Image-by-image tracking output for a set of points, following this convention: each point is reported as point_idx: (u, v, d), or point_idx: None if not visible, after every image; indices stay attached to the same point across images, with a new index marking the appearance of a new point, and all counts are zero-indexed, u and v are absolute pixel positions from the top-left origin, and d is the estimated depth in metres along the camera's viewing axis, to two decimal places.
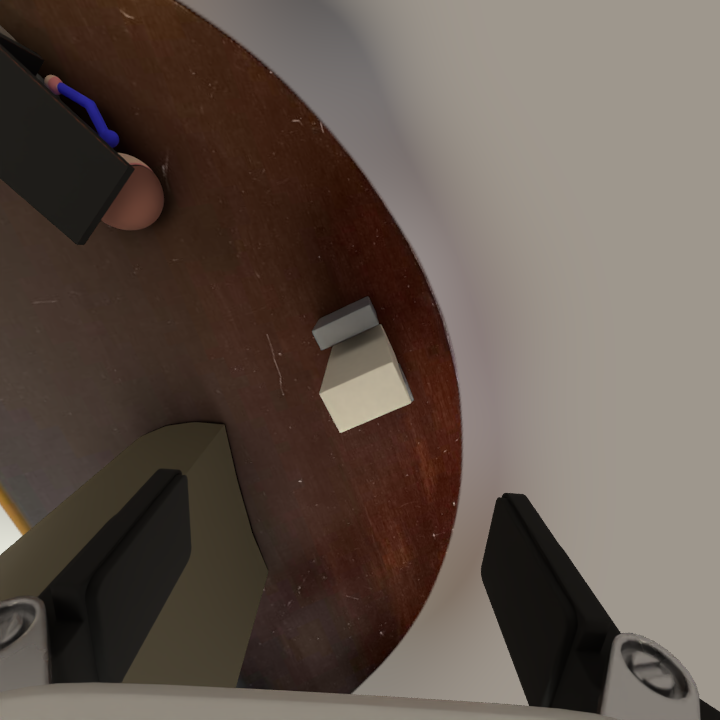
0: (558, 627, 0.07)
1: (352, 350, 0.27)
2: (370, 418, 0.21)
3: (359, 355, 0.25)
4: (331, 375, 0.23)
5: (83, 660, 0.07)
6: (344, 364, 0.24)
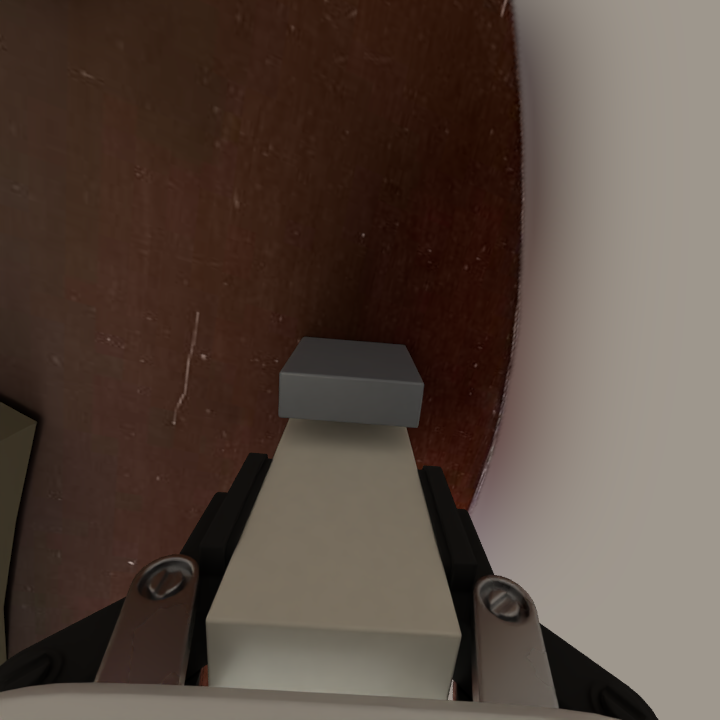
0: None
1: (338, 444, 0.13)
2: None
3: (353, 484, 0.10)
4: (271, 521, 0.09)
5: None
6: (313, 494, 0.10)
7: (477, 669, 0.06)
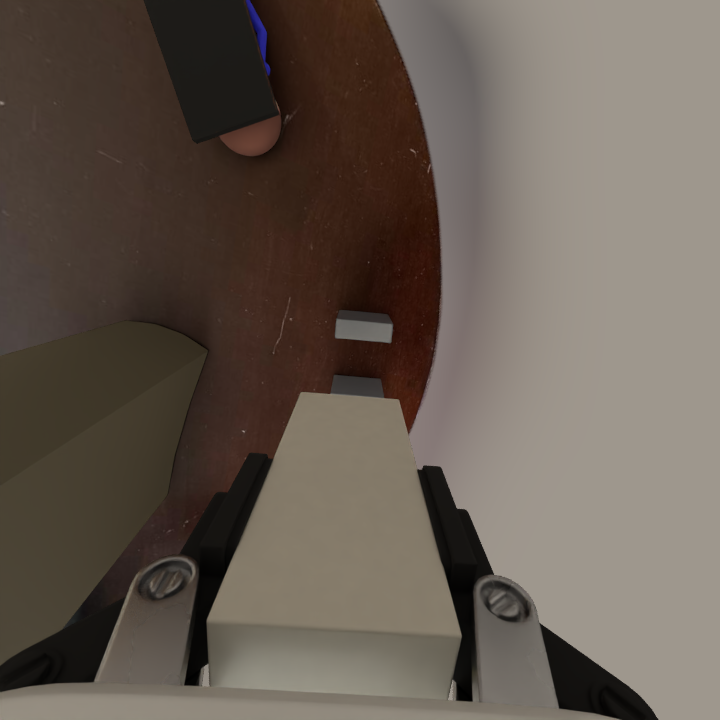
0: None
1: (338, 444, 0.13)
2: None
3: (354, 485, 0.10)
4: (272, 522, 0.09)
5: None
6: (313, 495, 0.10)
7: (477, 669, 0.06)
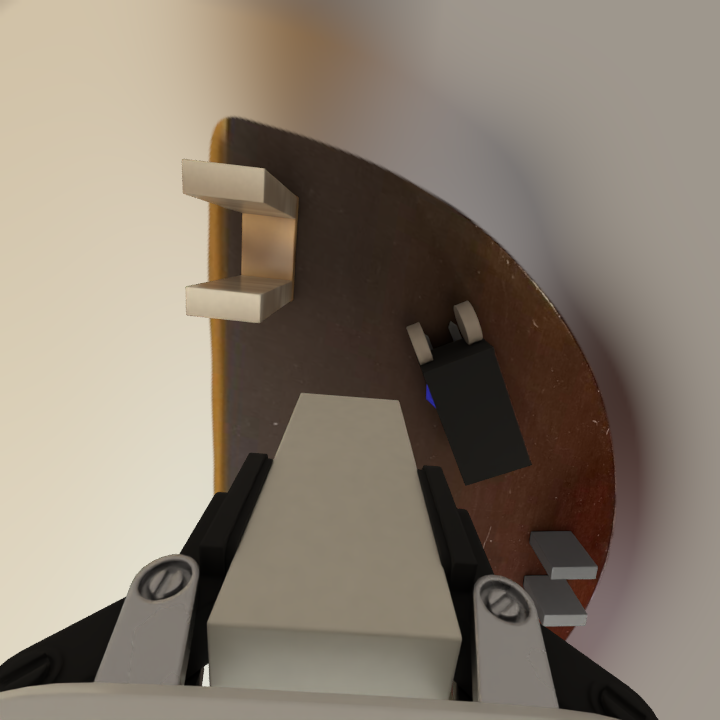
0: None
1: (338, 446, 0.13)
2: None
3: (354, 487, 0.10)
4: (271, 524, 0.09)
5: None
6: (313, 496, 0.10)
7: (477, 669, 0.06)
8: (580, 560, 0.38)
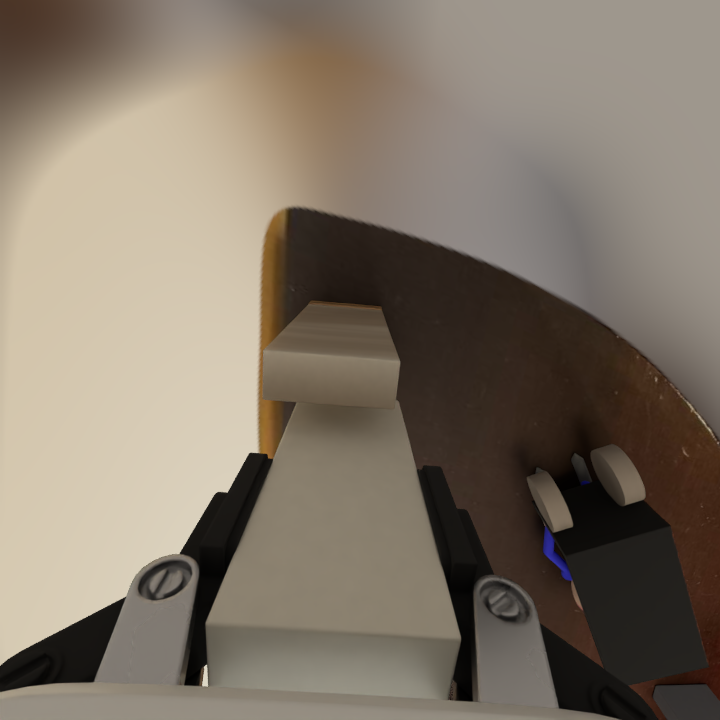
0: None
1: (337, 446, 0.13)
2: None
3: (353, 487, 0.10)
4: (271, 524, 0.09)
5: None
6: (312, 496, 0.10)
7: (477, 669, 0.06)
8: None
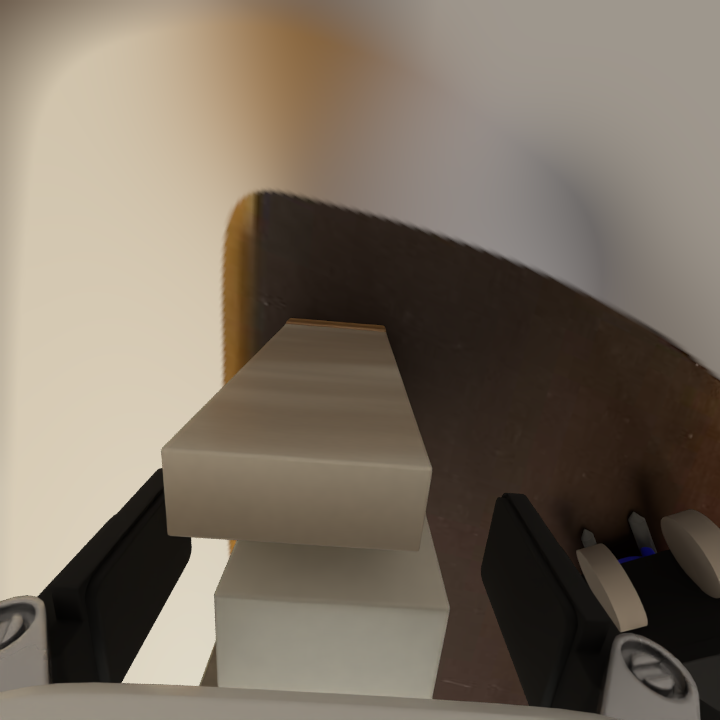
0: (558, 627, 0.07)
1: None
2: None
3: None
4: None
5: (83, 660, 0.07)
6: None
7: None
8: None
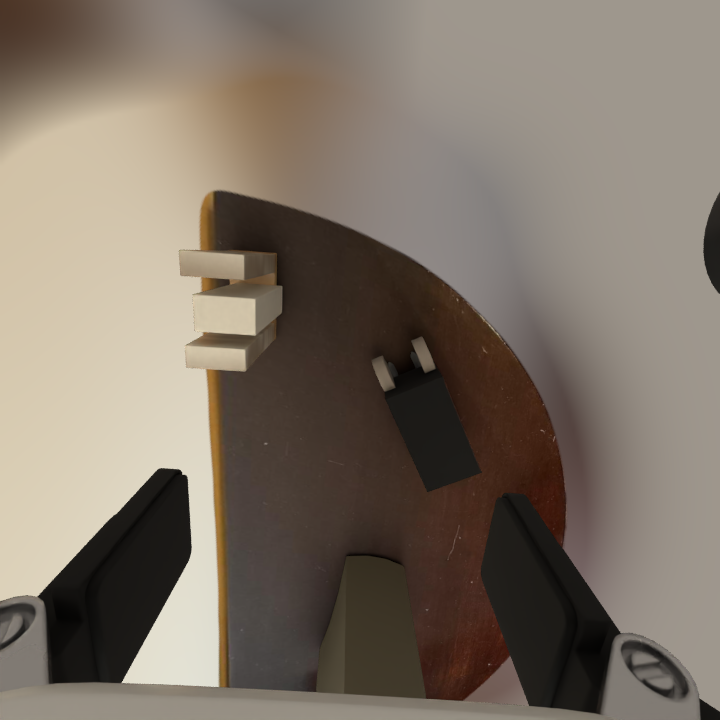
0: (558, 627, 0.07)
1: (244, 288, 0.33)
2: (221, 331, 0.28)
3: (243, 291, 0.31)
4: (212, 291, 0.29)
5: (83, 660, 0.07)
6: (228, 290, 0.30)
7: None
8: None
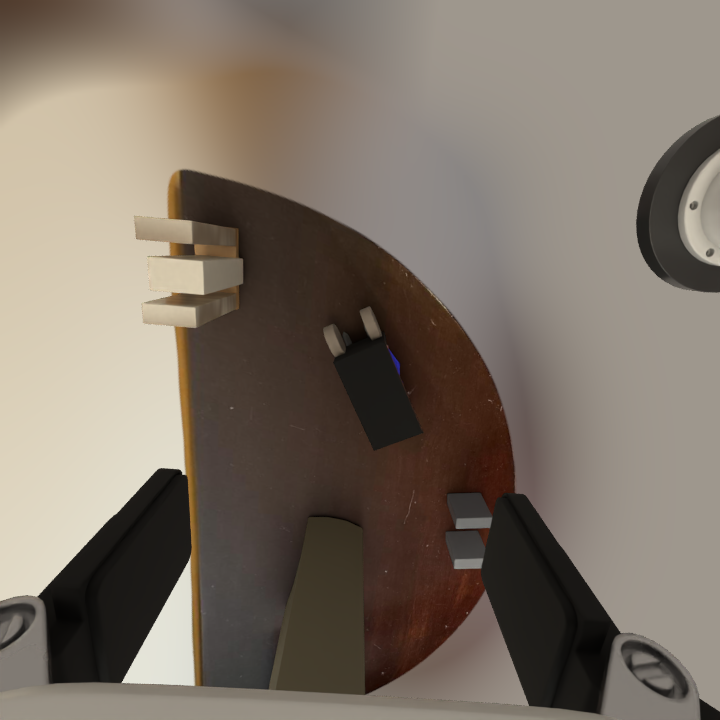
0: (558, 627, 0.07)
1: (203, 257, 0.36)
2: (173, 290, 0.31)
3: (199, 258, 0.34)
4: (169, 256, 0.33)
5: (83, 660, 0.07)
6: None
7: None
8: (480, 513, 0.47)
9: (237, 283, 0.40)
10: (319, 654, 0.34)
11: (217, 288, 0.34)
